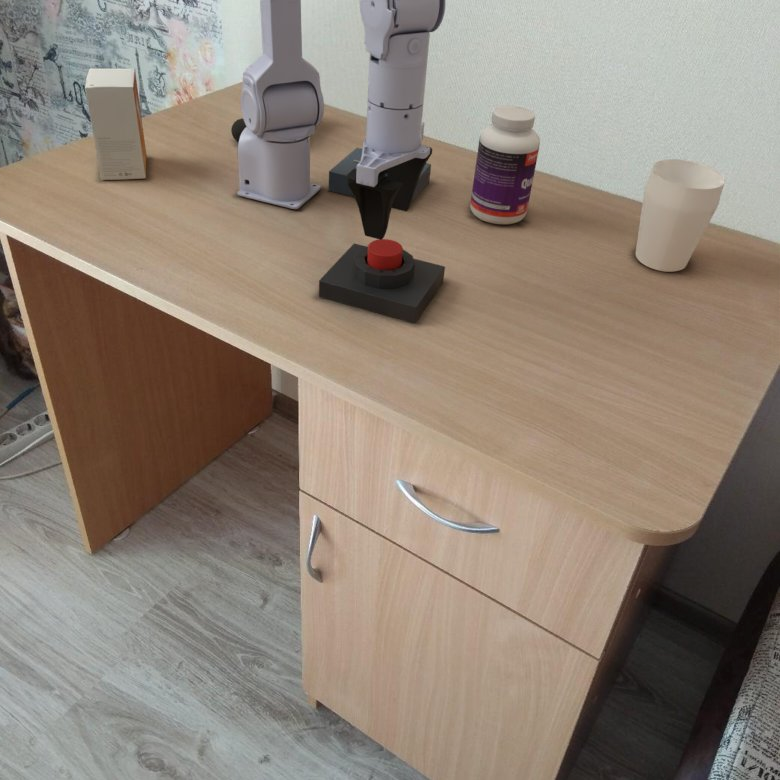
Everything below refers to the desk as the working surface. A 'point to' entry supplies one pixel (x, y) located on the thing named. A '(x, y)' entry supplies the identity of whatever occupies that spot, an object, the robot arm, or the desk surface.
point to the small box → (116, 123)
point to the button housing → (382, 284)
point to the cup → (676, 212)
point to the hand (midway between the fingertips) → (387, 222)
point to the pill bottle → (505, 166)
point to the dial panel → (350, 162)
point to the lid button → (384, 254)
